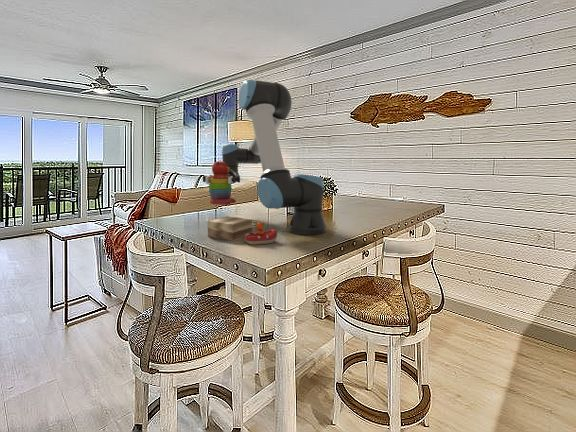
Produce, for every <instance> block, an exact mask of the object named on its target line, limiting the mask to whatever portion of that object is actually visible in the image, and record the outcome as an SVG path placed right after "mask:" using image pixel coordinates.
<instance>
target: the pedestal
mask: <svg viewBox="0 0 576 432" xmlns="http://www.w3.org/2000/svg"><path fill="white" fill-rule="evenodd" d="M246 233H253V219H251V218H242V217H234V216H225V217H219V218H215V219H211V220H207V237H208V238H215V239H220V240H226V241H227V240H228V241H236V240H240V239H244V236H245V234H246Z"/></svg>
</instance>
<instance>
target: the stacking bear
mask: <svg viewBox="0 0 576 432" xmlns="http://www.w3.org/2000/svg"><path fill="white" fill-rule="evenodd" d="M211 169H212V170H211V171H212V173H213V176H212V177H211V179H210V183H209V184H208V192H209V196H210V201H209V204H211V205H217V206H229V205H231V204H234V203H236V199H235V198H232V197H231V196H232V195H231V194H232V184H228V177H229V176H228V175H227V174H228V173H229V171H230V168H229V167H228V166H227V164H226V163H225V162H223V160H222V161H221V160H219V161H215V162H213V164H212V166H211Z"/></svg>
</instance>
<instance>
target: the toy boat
mask: <svg viewBox="0 0 576 432" xmlns="http://www.w3.org/2000/svg"><path fill="white" fill-rule="evenodd" d="M264 225H265V224H264V222H262V221H258V222H257V223H256V229H257V230H258V231H256V232H252V233H246V234H245V236H244V237H243V239H244V241H245V242H246V243H247V244H248V245H250V246H257V245H258V246H259V245H271V244H273V243H274V242H276V241H277V239H278V231H277V230H276V229H275V228H274V229H273V228H272V229H268V230H267V231H264V228H265V226H264Z"/></svg>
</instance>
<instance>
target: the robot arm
mask: <svg viewBox="0 0 576 432" xmlns="http://www.w3.org/2000/svg"><path fill="white" fill-rule="evenodd" d="M292 101H293V100H292V96H291V93H290V91H289V89H287V87H286V86H284V85H283V84H281V83H279V82H271V81H262V80H256V79H246V80H244V81H243V82H242V84H241V86H240V89H239V93H238V106H239V108H240V109H241V110H243V111H245V112H246V117H248V118H249V119H251V123H252V127H253V131H254V138H253V140H252V141H251V144H250V146H249V147H248V148H239V147H238V144H236V143H235V144H234V143H232V144H231V143H226V144H223V145H222V150H221V151H222V152H221V157H222V162H225V163H226V164H227V166H228V167H229V168H230V171H229V173H228V174H227V175H228V176H229V177H228V184H231V185H233V184H234V185H235V184H236V183H239V184H240V182H241V176H240V173H239V164H243V165H244V164H246V165H247V164H249V165H250V164H251V165H257V164H261V167H262V168H261V169H262V174H261V175H260V179H259V181H258V182H257V186H256V187H257V190H256V191H257V197H258V199H259V201H260V204H262V205H263V206H264V208H267V209H275V210H278V209H285V208H293V214H292V216H291V219H290V223H289V226H288V231H289V232H291V233H292V234H298V235H304V236H305V235H307V236H308V235H310V236H311V235H312V236H313V235H315V236H316V235H321V233H322V234H325V233H326V232H327V225H326V222H325V221H326V220H325V218H324V216H323V215H324V214H323V199H324V196H323V195H324V180H323V177H320V176H317V175H311V174H310V175H309V174H304V173H303V174H301V173H295V174H294V176H293V177H291V173H290V169H288V168H286V167H285V163H284V160H283V159H284V158H283V154H282V150H281V146H280V140H279V137H278V132H277V130H278V129H279V127H280V125H281V123H282V122H283V121H284V120H286V119H287V117H289V114H290V112H291V109H292V105H293V104H292ZM213 175H214V174H213ZM213 175H212V174H210V175H202V183H205V184H206V185H209V184H210V179H211V177H212V176H213ZM324 232H325V233H324Z"/></svg>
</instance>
